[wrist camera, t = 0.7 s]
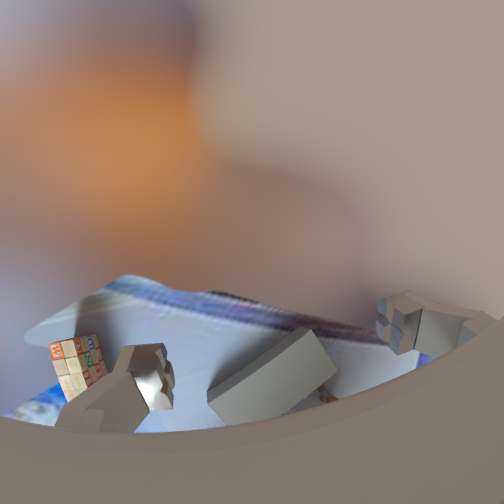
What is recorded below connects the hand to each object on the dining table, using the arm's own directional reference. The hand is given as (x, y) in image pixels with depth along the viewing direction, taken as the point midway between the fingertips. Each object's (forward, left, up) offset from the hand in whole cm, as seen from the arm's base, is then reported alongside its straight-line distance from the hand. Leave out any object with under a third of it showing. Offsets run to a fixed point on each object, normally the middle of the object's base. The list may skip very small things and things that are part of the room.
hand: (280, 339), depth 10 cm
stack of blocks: (0, +32, -49) cm, 58 cm away
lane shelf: (-20, 0, -48) cm, 52 cm away
